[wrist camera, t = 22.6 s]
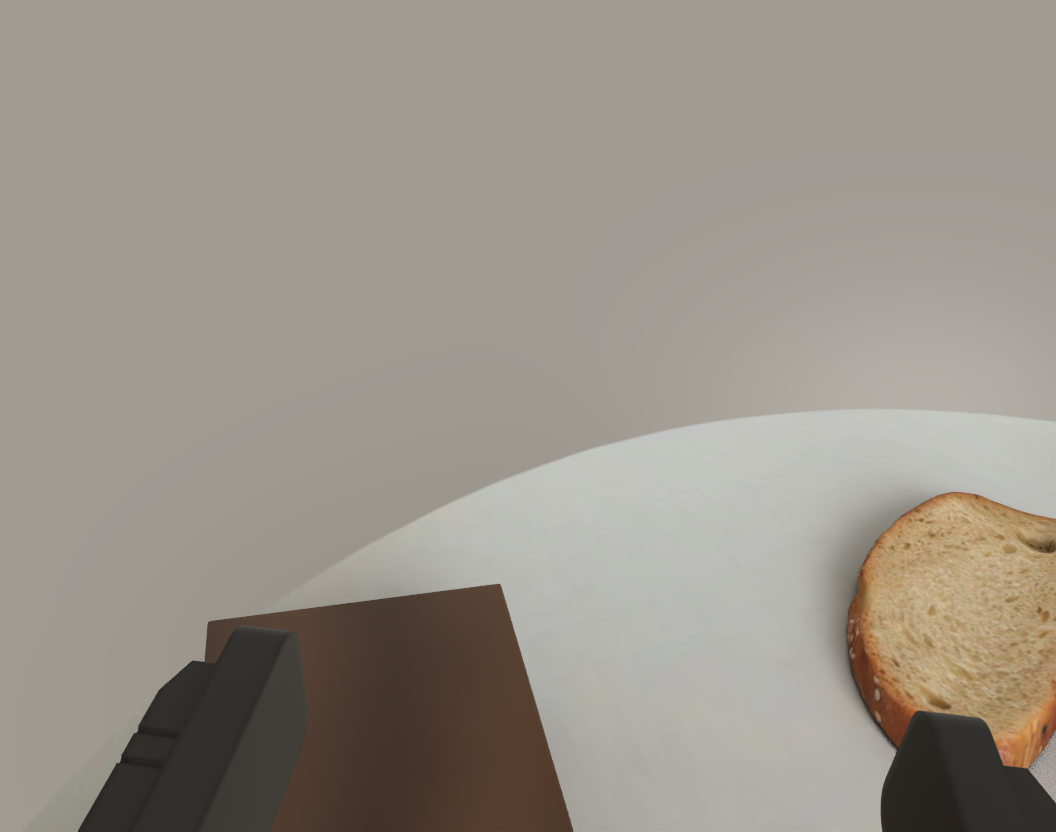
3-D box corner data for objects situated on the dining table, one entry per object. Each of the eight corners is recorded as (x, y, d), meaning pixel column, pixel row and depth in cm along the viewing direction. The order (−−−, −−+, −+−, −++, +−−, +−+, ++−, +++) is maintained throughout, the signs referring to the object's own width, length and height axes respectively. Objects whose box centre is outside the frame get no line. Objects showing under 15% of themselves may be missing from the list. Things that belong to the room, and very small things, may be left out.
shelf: (217, 1027, 31) (183, 914, 27) (230, 734, 40) (207, 620, 36) (562, 951, 33) (576, 837, 29) (496, 693, 43) (500, 582, 39)
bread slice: (927, 810, 39) (953, 753, 37) (758, 536, 53) (770, 485, 51) (1279, 754, 42) (1321, 699, 40) (1028, 510, 57) (1049, 461, 55)
